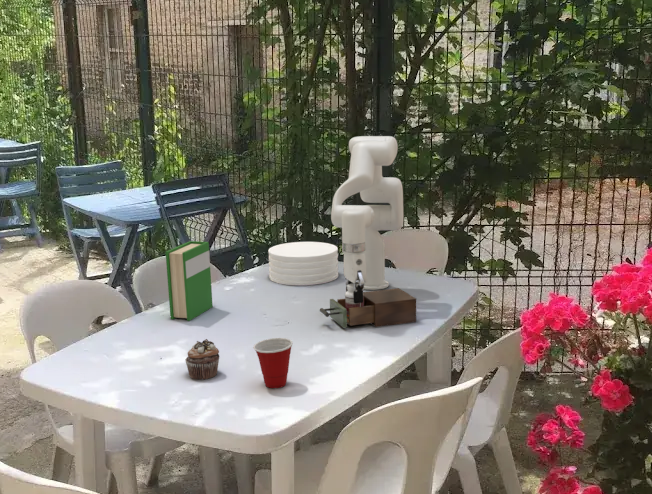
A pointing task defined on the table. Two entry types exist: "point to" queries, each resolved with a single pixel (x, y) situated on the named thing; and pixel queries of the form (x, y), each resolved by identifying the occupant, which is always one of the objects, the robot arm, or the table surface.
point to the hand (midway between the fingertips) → (354, 299)
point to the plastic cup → (274, 360)
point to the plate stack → (303, 263)
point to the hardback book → (189, 280)
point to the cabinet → (392, 306)
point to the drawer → (350, 313)
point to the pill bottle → (351, 299)
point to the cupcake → (203, 360)
